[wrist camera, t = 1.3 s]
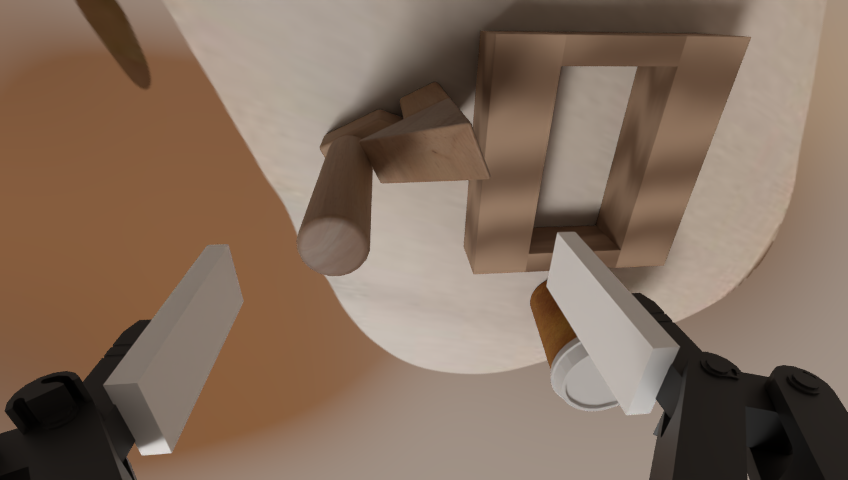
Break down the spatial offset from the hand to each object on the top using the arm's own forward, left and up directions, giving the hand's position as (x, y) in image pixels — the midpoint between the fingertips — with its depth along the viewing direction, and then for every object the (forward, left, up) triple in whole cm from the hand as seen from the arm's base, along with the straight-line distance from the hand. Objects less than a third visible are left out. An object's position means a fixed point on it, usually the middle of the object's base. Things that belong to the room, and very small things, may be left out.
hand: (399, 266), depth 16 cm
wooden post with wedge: (0, 0, -22) cm, 22 cm away
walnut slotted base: (+2, +17, -21) cm, 27 cm away
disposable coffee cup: (+20, +19, -22) cm, 35 cm away
